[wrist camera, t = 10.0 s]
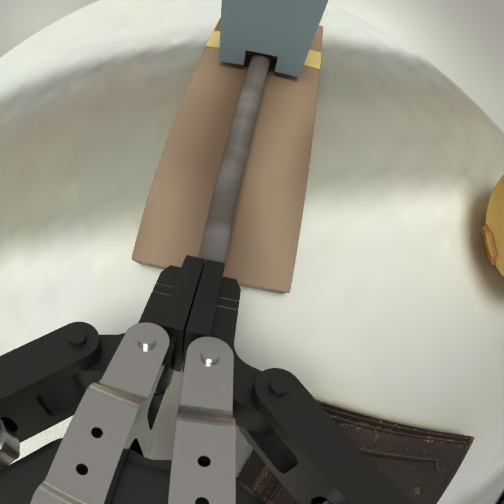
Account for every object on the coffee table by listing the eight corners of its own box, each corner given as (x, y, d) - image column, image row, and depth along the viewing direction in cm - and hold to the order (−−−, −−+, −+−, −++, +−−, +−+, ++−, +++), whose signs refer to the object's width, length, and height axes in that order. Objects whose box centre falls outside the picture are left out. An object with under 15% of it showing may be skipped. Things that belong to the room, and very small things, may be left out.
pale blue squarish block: (304, 42, 17) (332, -37, 10) (299, 77, 17) (332, -12, 9) (233, 28, 17) (242, -55, 10) (219, 61, 16) (224, -34, 9)
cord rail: (318, 38, 20) (335, -5, 15) (283, 293, 16) (311, 287, 11) (225, 19, 20) (229, -27, 15) (139, 263, 16) (106, 244, 11)
